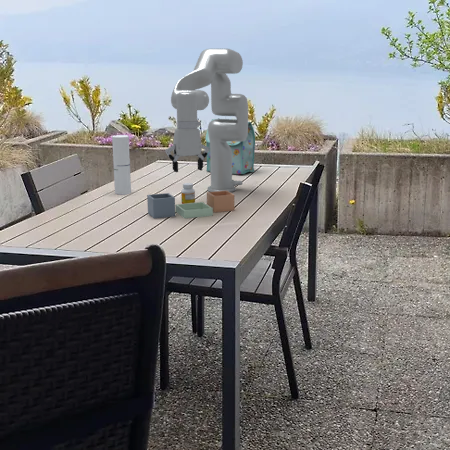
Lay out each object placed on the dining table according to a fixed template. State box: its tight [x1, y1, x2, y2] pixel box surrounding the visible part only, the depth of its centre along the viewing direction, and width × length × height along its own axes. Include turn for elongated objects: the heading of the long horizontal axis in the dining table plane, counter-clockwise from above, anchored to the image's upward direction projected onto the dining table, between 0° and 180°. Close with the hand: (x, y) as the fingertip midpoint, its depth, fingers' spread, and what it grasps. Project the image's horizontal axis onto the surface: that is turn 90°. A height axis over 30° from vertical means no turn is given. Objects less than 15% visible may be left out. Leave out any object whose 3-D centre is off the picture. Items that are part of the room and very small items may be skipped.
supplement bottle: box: [180, 182, 196, 204], centre depth 270 cm, size 5×5×10 cm
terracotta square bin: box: [206, 191, 235, 213], centre depth 264 cm, size 8×8×7 cm
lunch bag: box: [205, 118, 256, 175], centre depth 342 cm, size 23×16×27 cm
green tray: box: [175, 201, 214, 219], centre depth 258 cm, size 11×11×4 cm
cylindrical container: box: [111, 134, 132, 195], centre depth 296 cm, size 7×7×25 cm
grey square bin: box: [146, 192, 176, 219], centre depth 256 cm, size 8×8×8 cm
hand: (188, 170), depth 256 cm, fingers open, 9 cm apart
